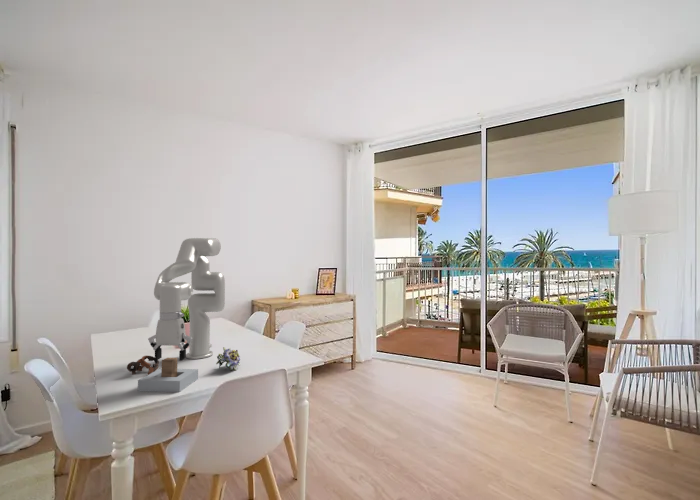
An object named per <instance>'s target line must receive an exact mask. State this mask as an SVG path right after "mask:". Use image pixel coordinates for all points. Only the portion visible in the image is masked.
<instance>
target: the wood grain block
mask: <svg viewBox="0 0 700 500" xmlns="http://www.w3.org/2000/svg"><path fill="white" fill-rule="evenodd" d="M161 369H162V374H161V377H177V369H178V357H166V358H163V359H162V360H161Z"/></svg>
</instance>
